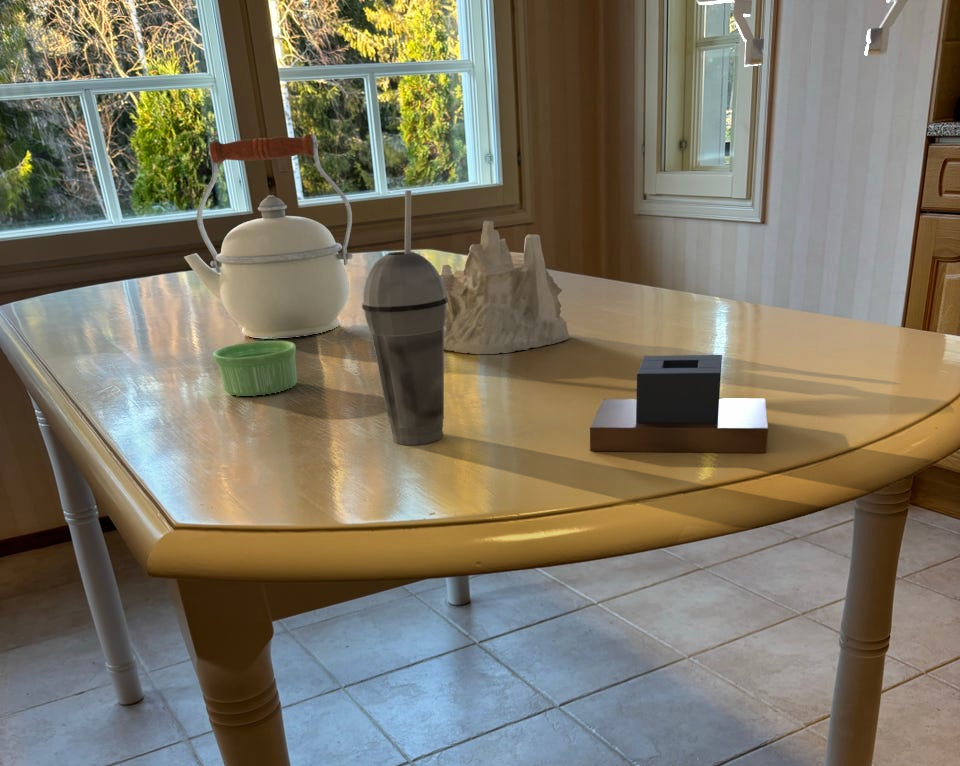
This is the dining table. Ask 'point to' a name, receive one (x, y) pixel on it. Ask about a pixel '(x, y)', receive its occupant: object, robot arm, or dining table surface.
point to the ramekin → (257, 367)
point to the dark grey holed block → (678, 389)
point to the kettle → (276, 255)
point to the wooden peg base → (682, 429)
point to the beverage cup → (408, 339)
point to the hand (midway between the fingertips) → (813, 60)
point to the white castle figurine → (501, 299)
